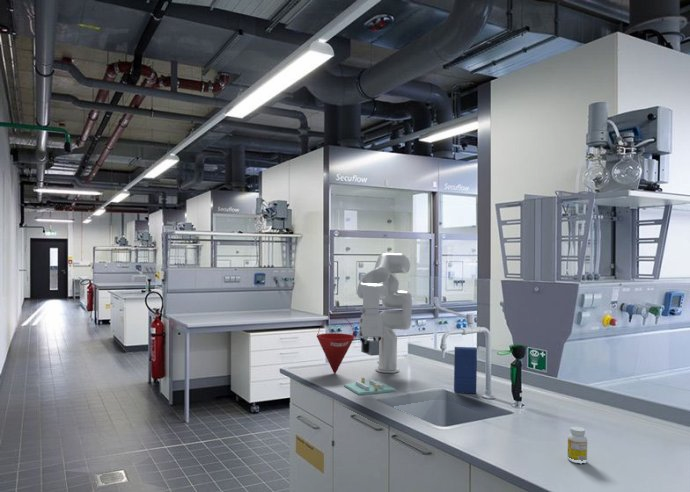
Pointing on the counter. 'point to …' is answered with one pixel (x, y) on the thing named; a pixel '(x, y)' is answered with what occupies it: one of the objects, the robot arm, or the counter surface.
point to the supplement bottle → (577, 444)
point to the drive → (371, 347)
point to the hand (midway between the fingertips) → (370, 351)
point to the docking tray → (368, 387)
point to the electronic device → (465, 370)
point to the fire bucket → (335, 346)
